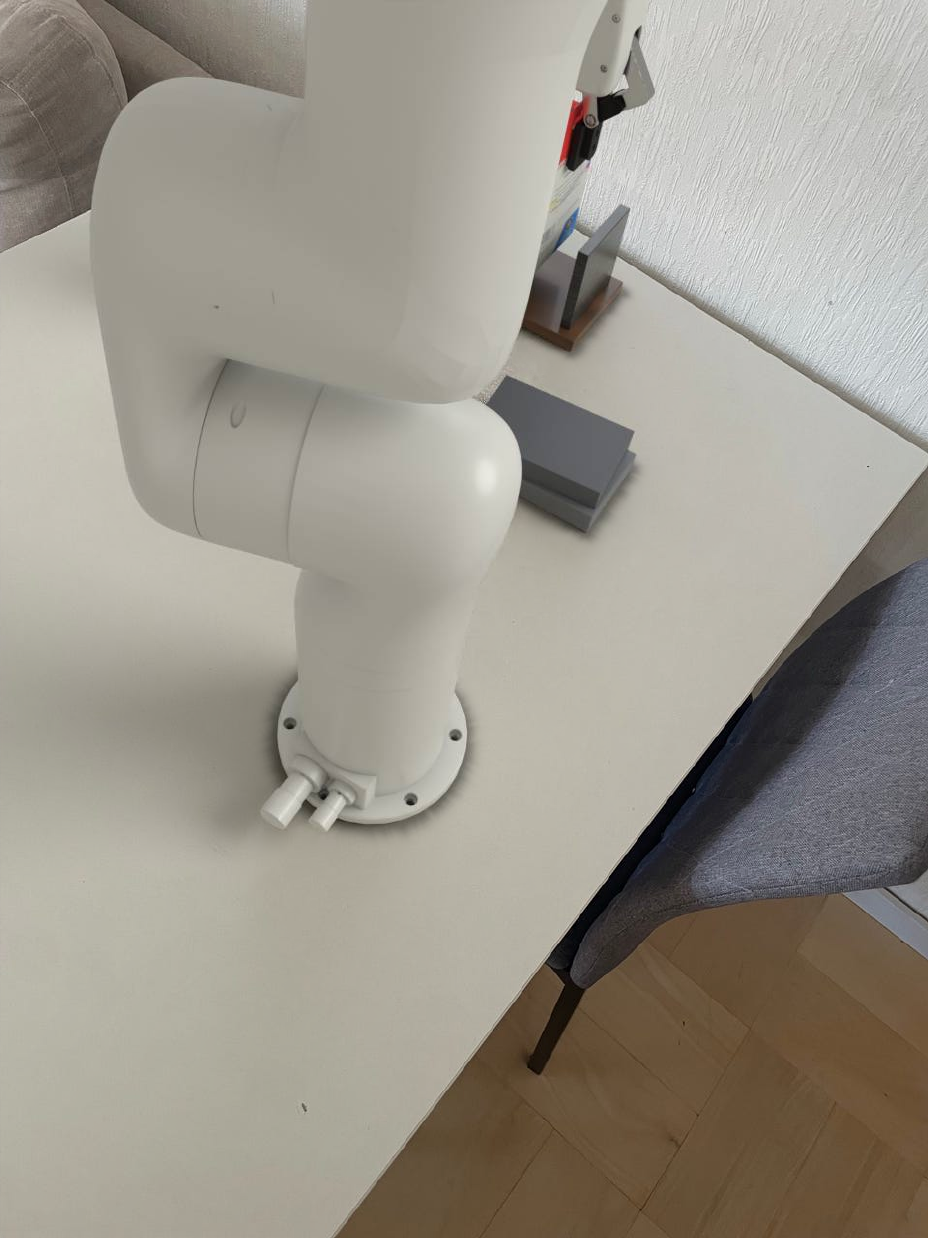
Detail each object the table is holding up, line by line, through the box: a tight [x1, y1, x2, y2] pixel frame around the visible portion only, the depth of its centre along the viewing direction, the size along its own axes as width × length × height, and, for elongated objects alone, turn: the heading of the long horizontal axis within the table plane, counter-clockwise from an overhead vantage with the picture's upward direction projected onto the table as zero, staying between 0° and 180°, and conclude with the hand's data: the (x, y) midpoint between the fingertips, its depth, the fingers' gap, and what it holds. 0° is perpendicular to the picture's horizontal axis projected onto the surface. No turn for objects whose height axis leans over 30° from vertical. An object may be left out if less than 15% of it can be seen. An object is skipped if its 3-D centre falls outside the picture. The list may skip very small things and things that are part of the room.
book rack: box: [521, 203, 631, 352], centre depth 91 cm, size 10×23×11 cm, turn 59°
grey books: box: [485, 374, 637, 533], centre depth 82 cm, size 8×12×4 cm
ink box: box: [534, 99, 592, 273], centre depth 85 cm, size 8×5×15 cm, turn 148°
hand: (548, 146), depth 83 cm, fingers closed on ink box, 5 cm apart
